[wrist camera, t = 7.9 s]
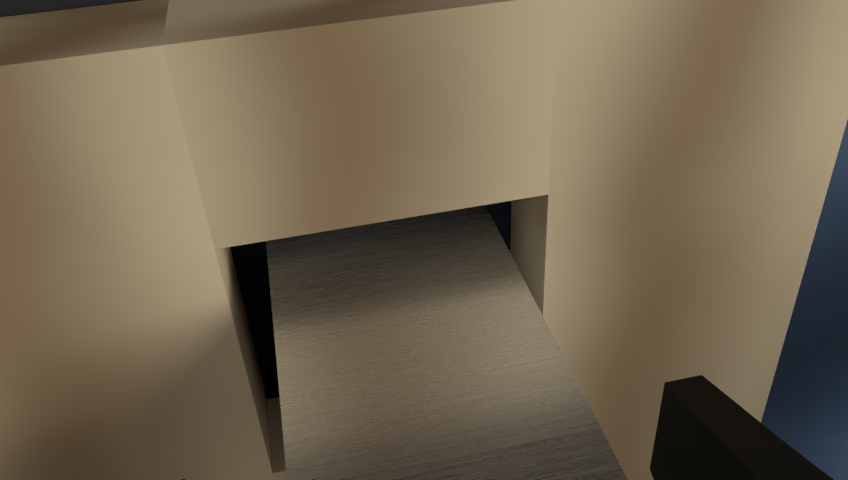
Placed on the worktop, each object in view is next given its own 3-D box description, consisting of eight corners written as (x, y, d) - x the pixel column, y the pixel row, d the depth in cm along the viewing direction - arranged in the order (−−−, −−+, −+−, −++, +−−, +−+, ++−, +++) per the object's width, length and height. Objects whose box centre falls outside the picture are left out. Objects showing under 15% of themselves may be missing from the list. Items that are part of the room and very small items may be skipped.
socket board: (814, -80, 13) (895, -49, 12) (705, 408, 20) (747, 469, 19) (-215, 42, 11) (-287, 102, 10) (59, 544, 18) (43, 627, 17)
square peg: (475, 185, 15) (628, 481, 9) (478, 340, 17) (603, 651, 12) (264, 219, 14) (293, 555, 9) (296, 375, 17) (336, 718, 11)
